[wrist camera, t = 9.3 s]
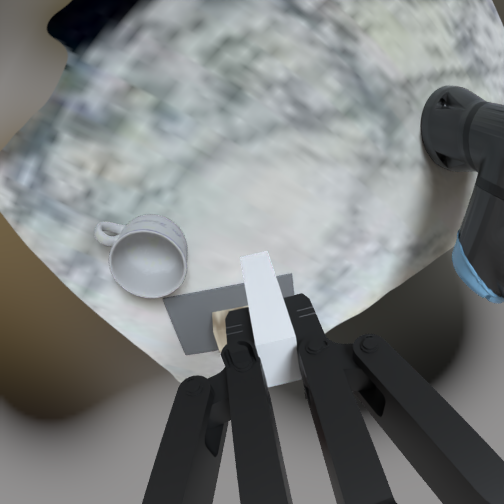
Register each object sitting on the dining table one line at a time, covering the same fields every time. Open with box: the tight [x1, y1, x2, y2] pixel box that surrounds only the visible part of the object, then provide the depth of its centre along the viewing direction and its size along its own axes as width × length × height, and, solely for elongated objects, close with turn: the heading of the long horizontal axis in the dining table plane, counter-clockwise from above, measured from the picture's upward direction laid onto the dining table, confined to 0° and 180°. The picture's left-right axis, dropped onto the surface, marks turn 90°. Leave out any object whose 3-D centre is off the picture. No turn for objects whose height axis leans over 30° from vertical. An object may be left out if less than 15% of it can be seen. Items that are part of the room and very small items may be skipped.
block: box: [212, 306, 248, 352], centre depth 53 cm, size 5×5×12 cm
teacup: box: [94, 214, 187, 298], centre depth 42 cm, size 14×11×8 cm
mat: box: [163, 273, 294, 355], centre depth 55 cm, size 22×14×1 cm, turn 99°
